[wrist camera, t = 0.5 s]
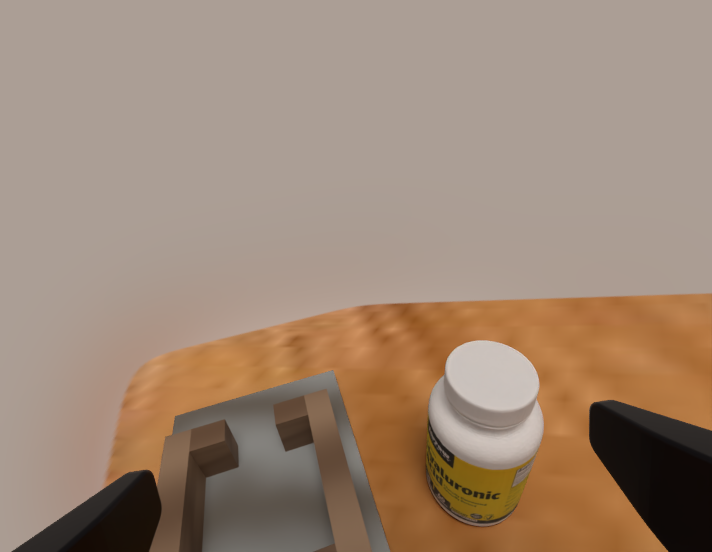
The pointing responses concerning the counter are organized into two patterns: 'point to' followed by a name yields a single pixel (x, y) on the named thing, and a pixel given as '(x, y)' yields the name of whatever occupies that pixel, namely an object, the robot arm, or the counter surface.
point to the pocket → (267, 476)
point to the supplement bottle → (483, 432)
